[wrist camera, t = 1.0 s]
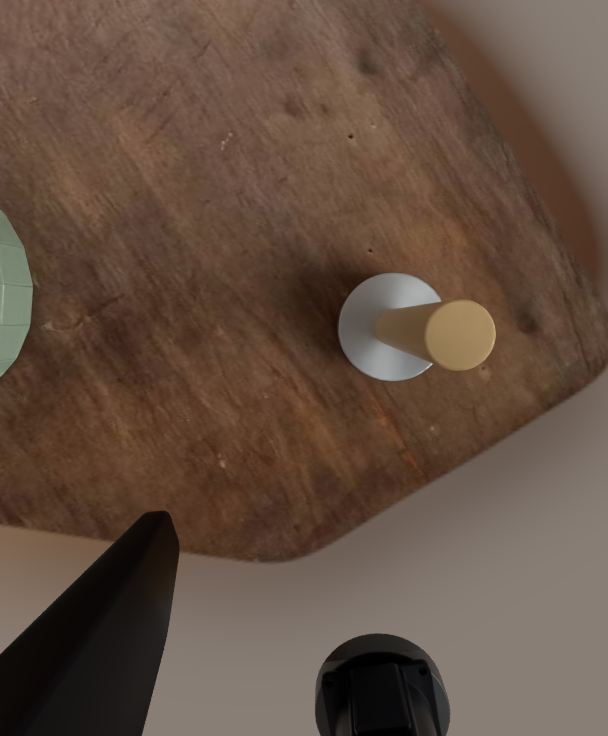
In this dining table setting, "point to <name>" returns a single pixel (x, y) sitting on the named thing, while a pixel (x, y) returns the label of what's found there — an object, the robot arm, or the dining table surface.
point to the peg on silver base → (410, 329)
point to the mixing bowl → (13, 294)
